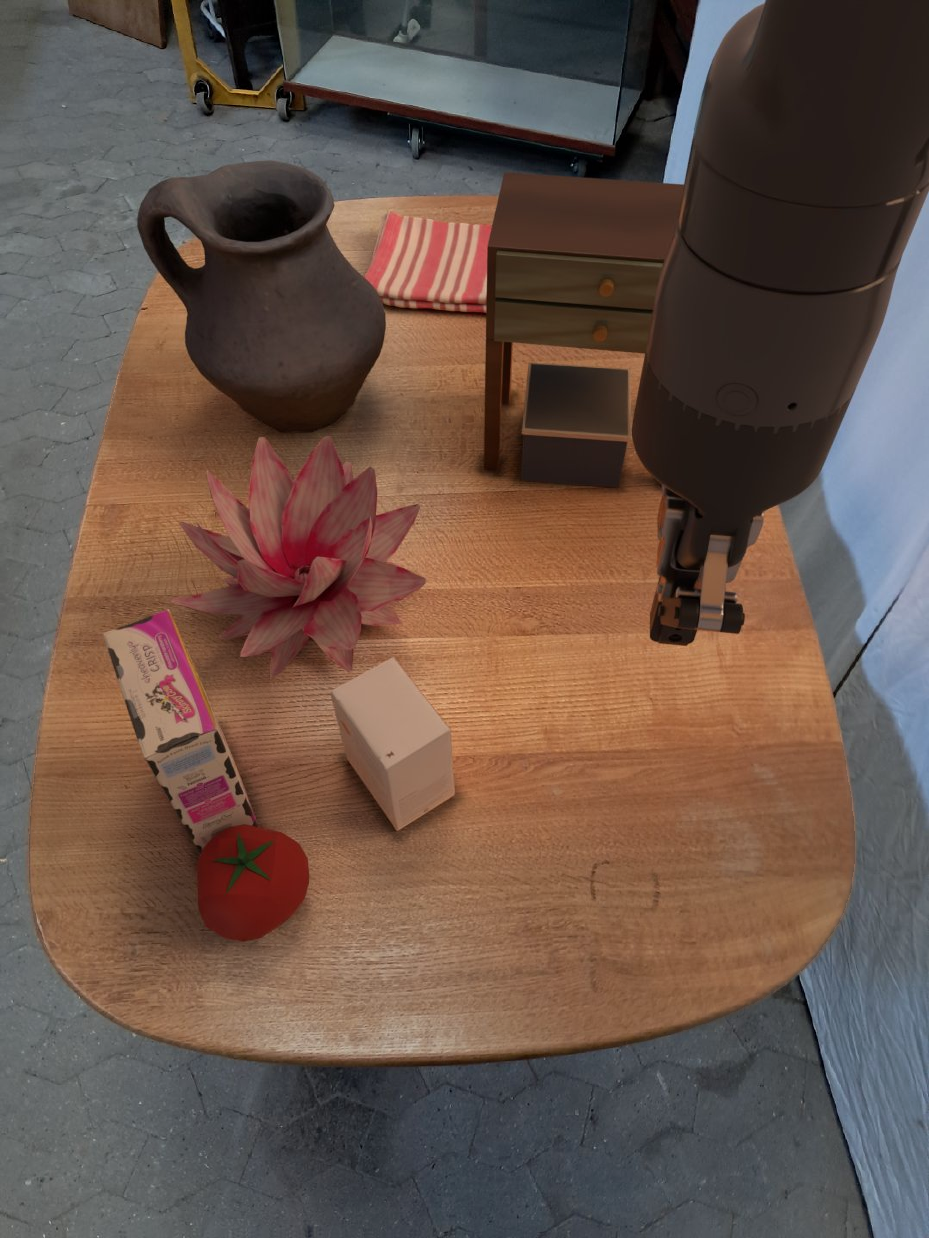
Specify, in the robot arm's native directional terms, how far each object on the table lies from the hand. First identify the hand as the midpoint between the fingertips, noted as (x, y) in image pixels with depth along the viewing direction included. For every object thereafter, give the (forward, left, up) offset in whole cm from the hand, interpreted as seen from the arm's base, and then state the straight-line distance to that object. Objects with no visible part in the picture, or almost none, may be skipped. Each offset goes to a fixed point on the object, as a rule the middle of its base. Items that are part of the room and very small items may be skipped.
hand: (670, 631), depth 46 cm
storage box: (-18, -40, -29) cm, 53 cm away
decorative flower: (+13, -31, -29) cm, 44 cm away
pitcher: (+6, -59, -29) cm, 66 cm away
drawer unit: (-21, -41, -29) cm, 54 cm away
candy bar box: (+26, -17, -29) cm, 42 cm away
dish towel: (-21, -74, -29) cm, 82 cm away
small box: (+12, -12, -29) cm, 34 cm away
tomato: (+25, -7, -29) cm, 39 cm away
